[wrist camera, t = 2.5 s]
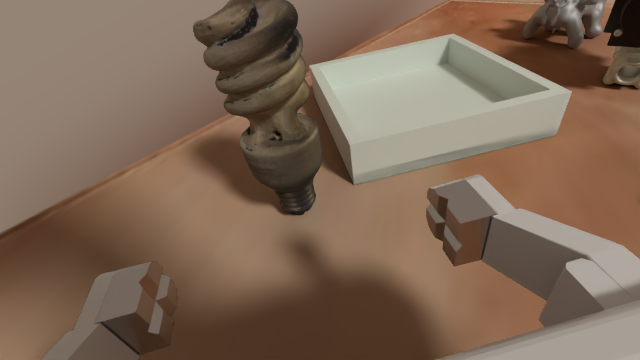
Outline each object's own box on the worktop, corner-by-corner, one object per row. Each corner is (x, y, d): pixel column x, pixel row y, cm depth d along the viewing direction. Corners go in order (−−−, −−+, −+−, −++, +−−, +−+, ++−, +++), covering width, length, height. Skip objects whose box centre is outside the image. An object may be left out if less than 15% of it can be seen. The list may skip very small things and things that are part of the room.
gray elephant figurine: (513, 46, 44) (527, -17, 39) (542, 16, 50) (558, -43, 45) (595, 55, 39) (624, -16, 34) (618, 20, 45) (646, -46, 40)
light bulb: (252, 232, 24) (161, 16, 15) (273, 184, 28) (212, -9, 19) (325, 236, 23) (277, 1, 14) (336, 185, 27) (305, -23, 18)
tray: (354, 184, 27) (349, 144, 24) (314, 97, 41) (309, 65, 38) (555, 135, 28) (572, 91, 25) (450, 66, 42) (453, 33, 39)
